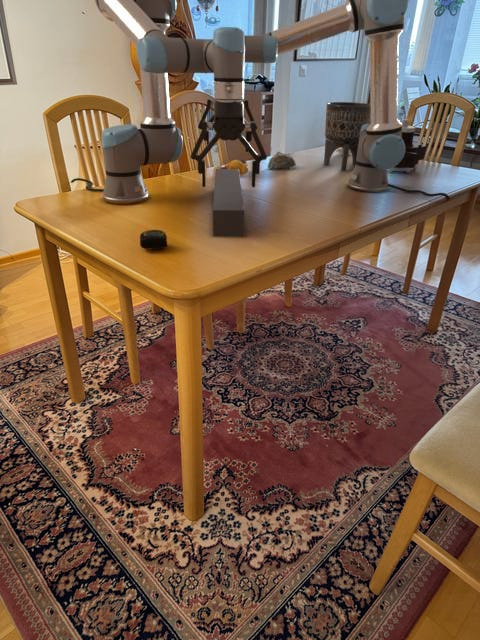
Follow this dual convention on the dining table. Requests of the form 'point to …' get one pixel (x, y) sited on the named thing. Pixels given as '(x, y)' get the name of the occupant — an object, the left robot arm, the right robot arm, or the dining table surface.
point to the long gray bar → (228, 204)
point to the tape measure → (153, 239)
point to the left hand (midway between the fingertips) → (228, 186)
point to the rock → (281, 162)
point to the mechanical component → (410, 150)
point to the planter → (344, 129)
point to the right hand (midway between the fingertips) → (227, 151)
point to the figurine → (341, 151)
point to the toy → (237, 166)
